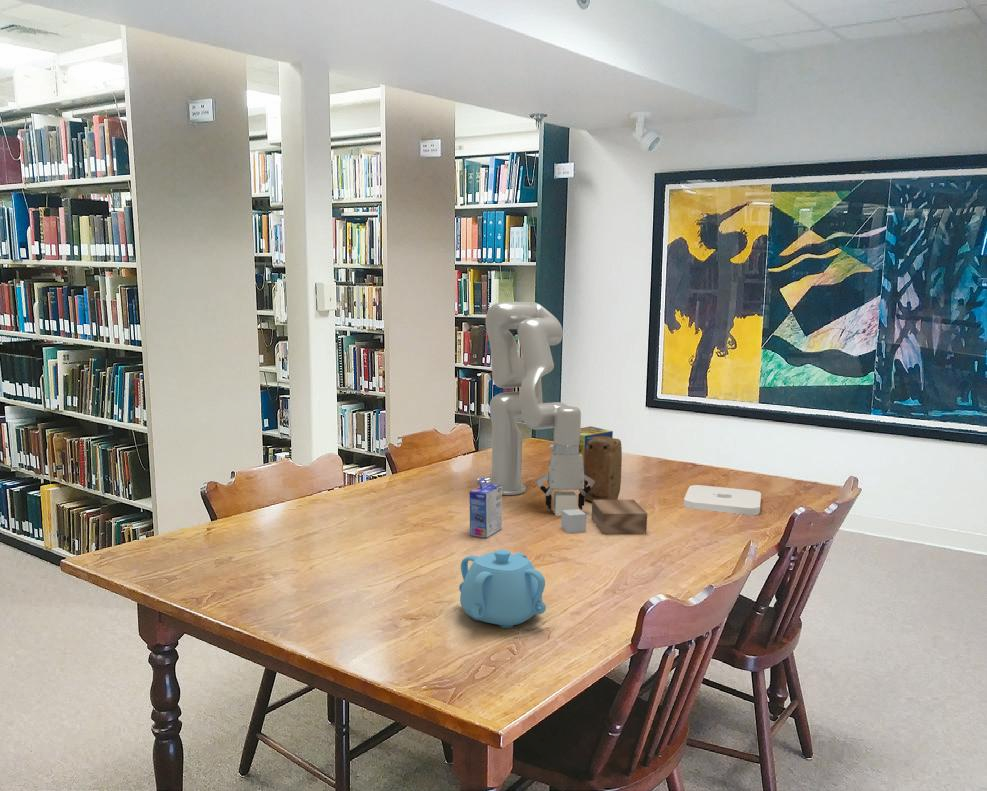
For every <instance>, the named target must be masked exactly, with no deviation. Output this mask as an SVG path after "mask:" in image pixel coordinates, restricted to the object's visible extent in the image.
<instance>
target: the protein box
mask: <svg viewBox="0 0 987 791" xmlns="http://www.w3.org/2000/svg"><path fill="white" fill-rule="evenodd" d="M613 434H614V431H613V430H609V429H605V428H600V427H595V426H592V425H591V426H586V427H584V426H583V427H580V454H582V456H583V464H584V458H585V451H586V446H587V444H588V442H589V441H590V440H591V439H593V438H594V437H597V436H604V437H605V436H607V437H611V438H613Z"/></svg>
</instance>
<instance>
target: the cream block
mask: <svg viewBox="0 0 987 791" xmlns="http://www.w3.org/2000/svg"><path fill="white" fill-rule="evenodd" d="M577 507H578V494H576V492H575V490H553V491H552V512H553V511H554V512H553V513H555V514H554V516H555V515H556V516H555V517H562V510H573V509H578V508H577Z"/></svg>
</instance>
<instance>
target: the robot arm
mask: <svg viewBox="0 0 987 791" xmlns="http://www.w3.org/2000/svg"><path fill="white" fill-rule="evenodd" d="M485 329H486V334H487V337H488V340H489V347H490V364H491V375H492V381H493V383H494V385H495V386H496V387H497V388H501V389H502V388H503V389H512V388H514V389H515V388H519V391H506V392H500V393H498V394H496V395H494V396H492V398H491V400H490V402H489V414H490V419H491V421H490V422H491V431H492V432H491V433H492V436H491V474H490V475H489V476H486V477H484V478H485V480H486V482H487V483H490V484H496V485H502V496H514V495H515V496H517V495H521V494H524V493H525V492H527V490H526V489H527V487H526V486H525V485H523V484H522V462H523V461H522V460H523V459H522V458H523V457H522V456H523V434H522V431H521V430H520V428H519V426H518V424H517V423H518V422H519V423H520V422H524V423H525V425H526V426H527V428H528V429H530V430H533V431H534V430H536V431H537V430H546V429H553V442H552V444H551V445H548V451H552V452H551V453H550V457H549V462H548V471H547V473H545V474H544V475H542V476H540V477H538V478H537V479H536V481H535V482H536V484H537V485H538V487H539V488H540V490H541V491H542V492H543V494H544V495H545V506H547V509H548V510H551V509H552V502H553V495H552V494H553V491H575V490H578V491H579V493H578V494H577V507H578V509H579V510H583V507H584V506H585V495H586V493H588V492H589V491H590V490H591V488H592V486H593V485H594V483H595V481H594V480H593V479H592V478H590V477H588V476H587V475H585V474H584V464H583V456H582V454H580V428H581V426H582V424H581V423H582V421H581V419H582V412H581V409H580V408H578V407H576V406H570V405H568V404H566V403H563V402H560V401H558V402H557V401H556V402H544V401H543V387H542V386H543V385H542V377H544V376H545V375H548V374H549V373H551V372H552V371H553V370H554V369H555V368H554V367H555V364H554V363H555V362H554V359H553V356H552V355H553V354H552V351H551V348H550V346H557V345H558V344H560V343H561V342H562V340H563V337H564V330H563V327H562V324H561V323H560V321H559V320H558V318H557V317H556V316H555V315H554V314H552V313H551V312H550V311H549V310H548V309H547V308H545V307H544V306H542V305H541V304H539V303H538V302H535V301H500V302H496V303H494V304H492V305H491V306H490V307H489V308H488V309H487V312H486V315H485ZM510 330H516V331H517V338H518V341H519V346H520V350H521V355H522V356H519V354H518V343H517V340H516V338H515V336H514V335H513V334H512V332H511V331H510ZM481 478H482V477H477V478H476V485H477V484H478V485H480V484H479V482H478V480H479V479H481ZM584 479H585V480H586V481H588V482H589V483H588V485H587V486H586V487H585V488H584ZM546 481H547V484H548V486H547V487H546V486H545V485H544V484H543V483H544V482H546ZM484 483H485V481H482V482H481V484H484Z"/></svg>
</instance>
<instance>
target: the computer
mask: <svg viewBox="0 0 987 791" xmlns="http://www.w3.org/2000/svg"><path fill="white" fill-rule="evenodd" d="M761 501H762V493H761V492H760V491H757V490H751V489H743V488H733V487H732V488H731V487H721V486H713V485H701V484H694V485H693V484H692V485H690V486H689V487H688V489H687V491H686V493H685V495H684V498H683V507H684V506H685V507H684V508H686V507H687V508H686V509H688V508H691V509H690V510H693V509H700V510H699V511H703V510H707V511H706V512H712V511H718V512H717V513H721V512H726V513H725V514H731V513H736V514H735V515H740V514H746V515H745V516H751V515H753V516H758V515H757V514H759V513H760V514H761ZM760 514H759V515H760Z"/></svg>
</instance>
